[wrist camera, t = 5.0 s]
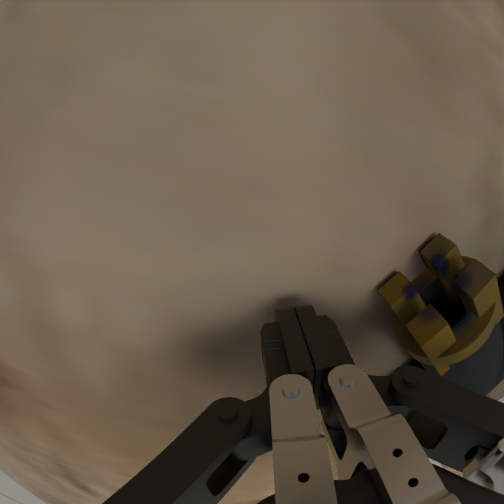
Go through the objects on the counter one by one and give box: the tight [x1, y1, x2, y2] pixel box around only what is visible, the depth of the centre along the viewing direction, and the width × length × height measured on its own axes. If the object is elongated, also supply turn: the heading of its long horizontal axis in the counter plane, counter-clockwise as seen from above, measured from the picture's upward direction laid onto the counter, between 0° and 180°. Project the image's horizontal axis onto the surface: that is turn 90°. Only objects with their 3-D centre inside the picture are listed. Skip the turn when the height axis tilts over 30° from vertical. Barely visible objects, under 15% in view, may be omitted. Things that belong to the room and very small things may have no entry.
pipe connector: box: [378, 233, 504, 422], centre depth 13 cm, size 12×5×15 cm
